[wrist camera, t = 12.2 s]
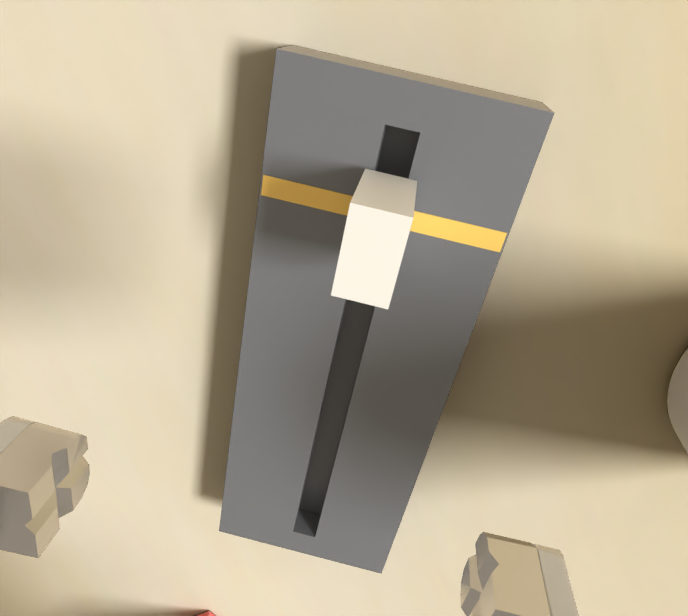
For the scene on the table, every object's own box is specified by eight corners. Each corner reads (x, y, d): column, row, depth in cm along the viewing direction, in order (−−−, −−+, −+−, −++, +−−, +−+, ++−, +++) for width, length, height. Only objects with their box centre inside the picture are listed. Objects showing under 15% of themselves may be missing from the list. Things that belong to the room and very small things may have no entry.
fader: (418, 169, 26) (413, 217, 20) (398, 244, 28) (388, 309, 22) (369, 158, 26) (349, 202, 20) (353, 233, 28) (330, 295, 22)
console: (542, 102, 25) (554, 113, 22) (384, 537, 41) (381, 574, 38) (292, 44, 25) (276, 48, 23) (232, 498, 41) (218, 531, 39)
